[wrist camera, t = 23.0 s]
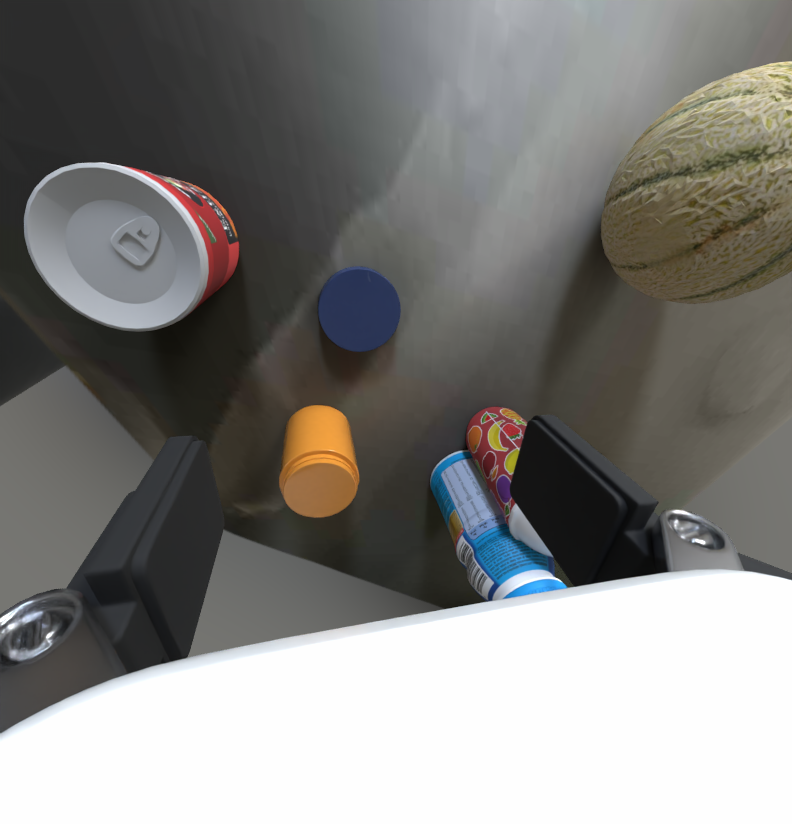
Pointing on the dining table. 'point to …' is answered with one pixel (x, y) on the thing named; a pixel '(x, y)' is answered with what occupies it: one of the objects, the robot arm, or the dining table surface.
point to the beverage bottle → (486, 535)
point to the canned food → (128, 244)
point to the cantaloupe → (708, 193)
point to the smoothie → (502, 465)
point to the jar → (318, 462)
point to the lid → (358, 309)
